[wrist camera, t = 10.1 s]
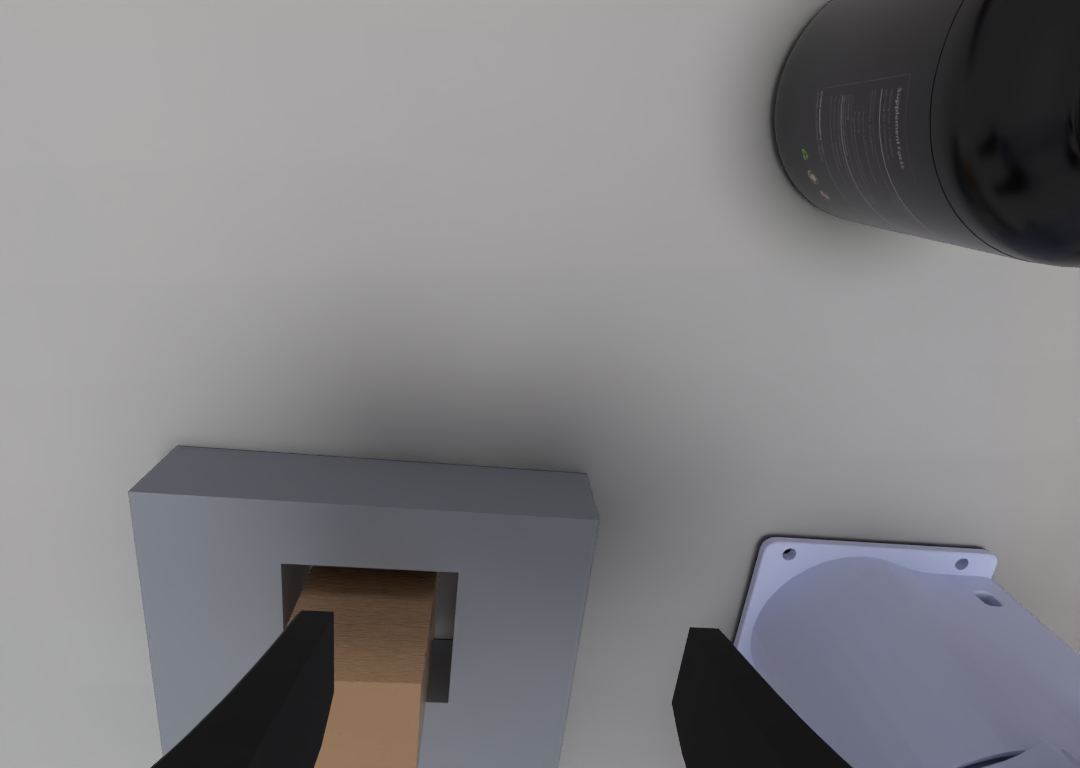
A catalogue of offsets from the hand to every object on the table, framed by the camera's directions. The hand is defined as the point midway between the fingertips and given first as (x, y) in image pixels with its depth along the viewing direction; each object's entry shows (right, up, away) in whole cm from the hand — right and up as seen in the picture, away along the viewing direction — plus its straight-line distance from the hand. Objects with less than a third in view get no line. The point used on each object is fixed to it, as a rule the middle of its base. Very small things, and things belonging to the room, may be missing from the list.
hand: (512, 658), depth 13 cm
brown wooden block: (-5, -2, +11) cm, 12 cm away
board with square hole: (-6, -5, +12) cm, 14 cm away
